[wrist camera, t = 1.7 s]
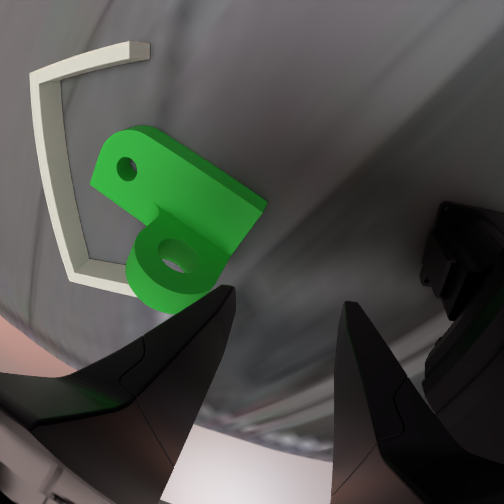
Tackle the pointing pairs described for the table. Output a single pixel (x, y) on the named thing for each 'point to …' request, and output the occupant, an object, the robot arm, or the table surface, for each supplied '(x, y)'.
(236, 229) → the mechanical part
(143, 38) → the table surface
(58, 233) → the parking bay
